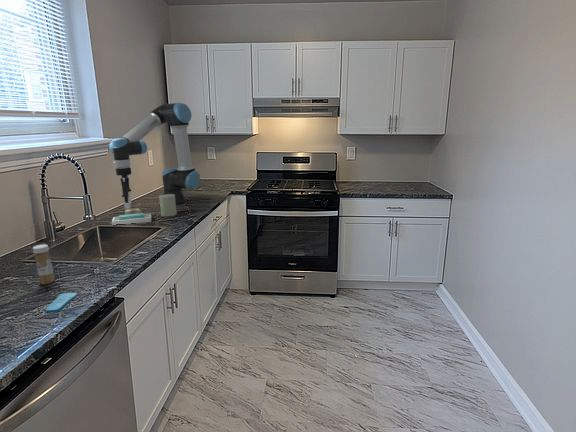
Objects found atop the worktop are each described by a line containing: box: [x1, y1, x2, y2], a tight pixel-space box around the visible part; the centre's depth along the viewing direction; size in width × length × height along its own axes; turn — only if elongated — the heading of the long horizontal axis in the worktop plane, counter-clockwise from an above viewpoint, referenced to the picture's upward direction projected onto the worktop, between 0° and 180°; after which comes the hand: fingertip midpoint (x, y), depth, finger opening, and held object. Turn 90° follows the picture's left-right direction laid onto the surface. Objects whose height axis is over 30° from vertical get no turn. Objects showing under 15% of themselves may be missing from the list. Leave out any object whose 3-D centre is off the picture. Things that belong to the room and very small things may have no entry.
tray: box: [111, 213, 152, 226], centre depth 208 cm, size 20×10×2 cm, turn 110°
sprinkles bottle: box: [32, 244, 56, 285], centre depth 130 cm, size 5×5×13 cm
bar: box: [118, 212, 145, 220], centre depth 208 cm, size 13×5×3 cm, turn 110°
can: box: [158, 194, 178, 217], centre depth 220 cm, size 9×9×12 cm
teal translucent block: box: [124, 203, 143, 215], centre depth 216 cm, size 9×4×8 cm, turn 110°
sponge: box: [45, 292, 79, 313], centre depth 116 cm, size 2×12×6 cm
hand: (128, 205), depth 205 cm, fingers open, 13 cm apart
